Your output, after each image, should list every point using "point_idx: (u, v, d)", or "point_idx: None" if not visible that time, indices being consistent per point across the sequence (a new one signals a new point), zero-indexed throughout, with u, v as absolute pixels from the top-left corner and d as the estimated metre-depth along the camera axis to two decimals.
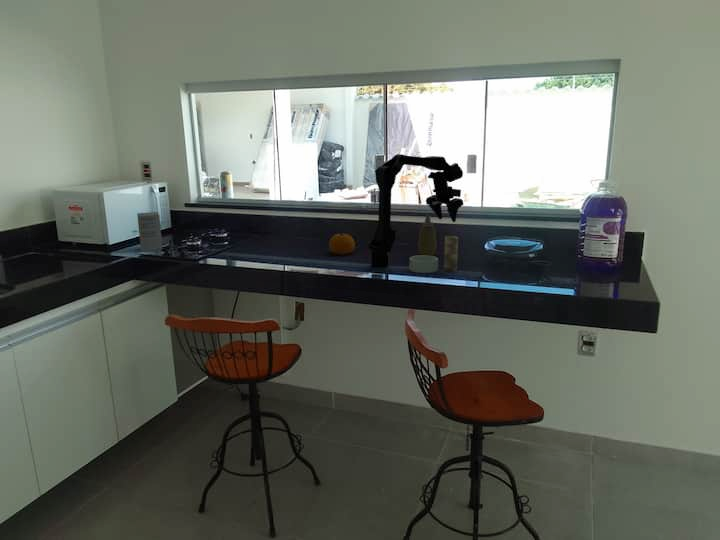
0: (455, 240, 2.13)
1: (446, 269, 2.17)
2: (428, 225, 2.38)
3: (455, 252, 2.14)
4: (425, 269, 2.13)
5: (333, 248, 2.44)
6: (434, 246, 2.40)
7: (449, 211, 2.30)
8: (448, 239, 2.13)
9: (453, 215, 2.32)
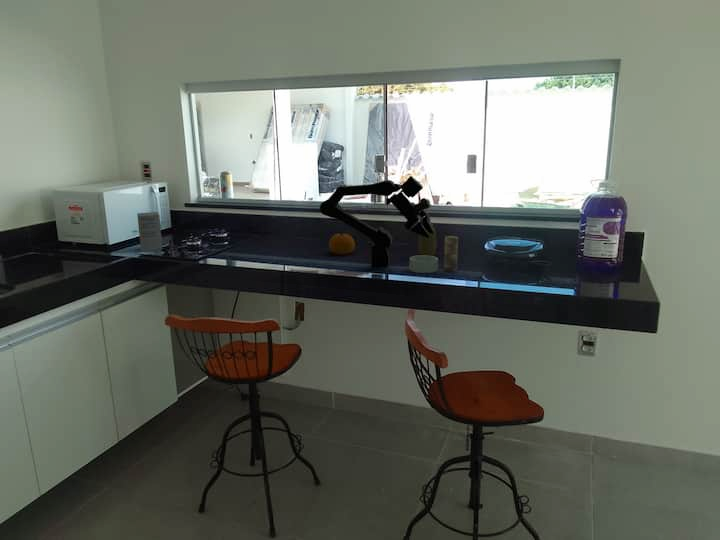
0: (455, 240, 2.13)
1: (446, 269, 2.17)
2: None
3: (455, 252, 2.14)
4: (425, 269, 2.13)
5: (333, 248, 2.44)
6: (434, 246, 2.40)
7: None
8: (448, 239, 2.13)
9: (421, 232, 2.13)
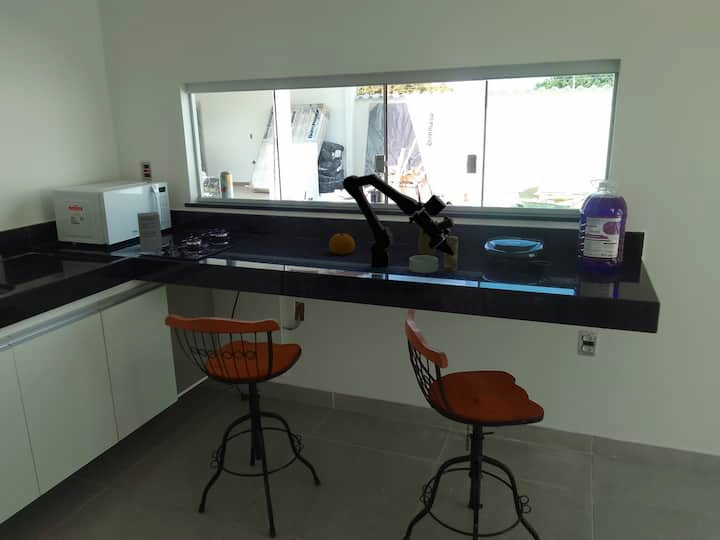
0: (455, 240, 2.13)
1: (446, 269, 2.17)
2: None
3: (455, 252, 2.14)
4: (425, 269, 2.13)
5: (333, 248, 2.44)
6: None
7: None
8: (448, 239, 2.13)
9: (445, 250, 2.13)
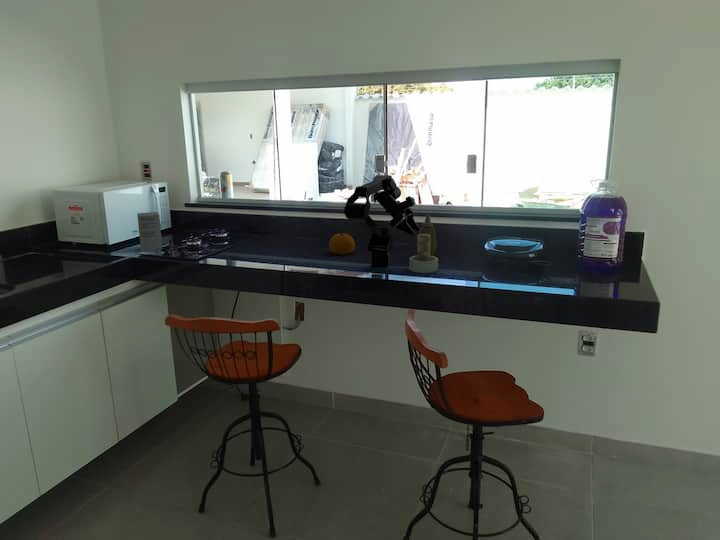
0: (427, 238, 2.14)
1: None
2: (428, 225, 2.38)
3: (427, 250, 2.15)
4: (425, 269, 2.13)
5: (333, 248, 2.44)
6: (434, 246, 2.40)
7: None
8: (420, 237, 2.14)
9: (406, 229, 2.18)
